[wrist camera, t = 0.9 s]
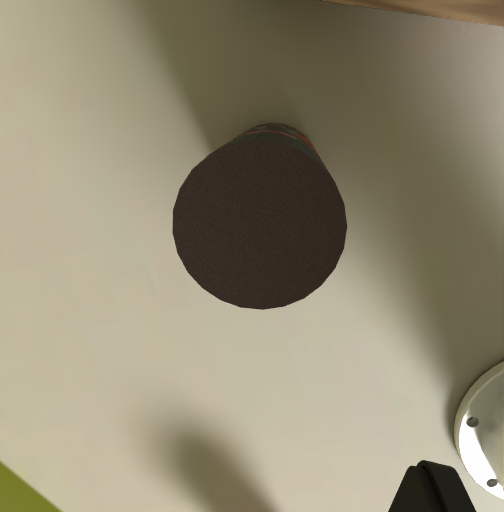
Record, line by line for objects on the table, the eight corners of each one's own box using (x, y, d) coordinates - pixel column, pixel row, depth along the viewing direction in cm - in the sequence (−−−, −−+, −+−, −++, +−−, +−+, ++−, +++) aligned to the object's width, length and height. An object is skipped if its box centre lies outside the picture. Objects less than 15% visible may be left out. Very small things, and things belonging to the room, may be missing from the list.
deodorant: (222, 125, 30) (163, 144, 16) (318, 120, 29) (347, 134, 15) (228, 218, 32) (180, 311, 17) (319, 215, 31) (346, 307, 17)
